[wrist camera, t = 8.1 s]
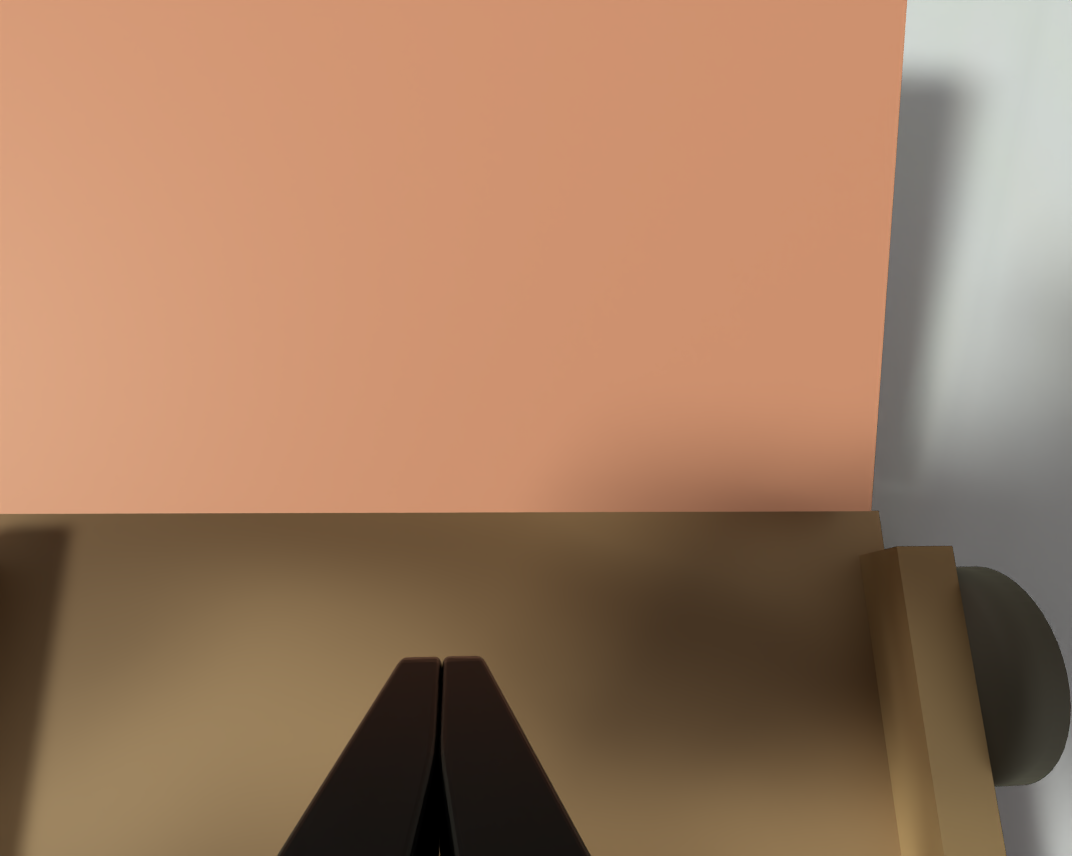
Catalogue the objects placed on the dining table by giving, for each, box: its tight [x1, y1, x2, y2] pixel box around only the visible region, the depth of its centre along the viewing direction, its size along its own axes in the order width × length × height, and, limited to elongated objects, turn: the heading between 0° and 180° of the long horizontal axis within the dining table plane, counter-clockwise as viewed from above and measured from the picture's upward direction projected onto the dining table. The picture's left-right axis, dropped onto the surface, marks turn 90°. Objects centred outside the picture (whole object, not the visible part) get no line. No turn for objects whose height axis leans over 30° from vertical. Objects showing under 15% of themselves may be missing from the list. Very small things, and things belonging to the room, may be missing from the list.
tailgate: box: [0, 0, 907, 514], centre depth 15 cm, size 2×17×11 cm
